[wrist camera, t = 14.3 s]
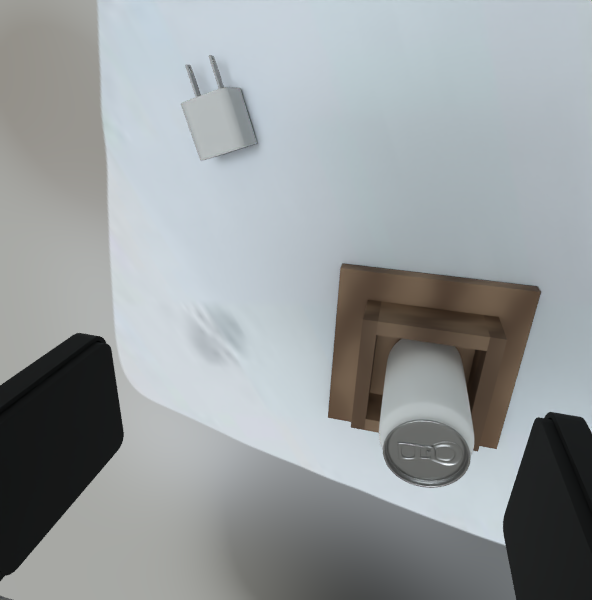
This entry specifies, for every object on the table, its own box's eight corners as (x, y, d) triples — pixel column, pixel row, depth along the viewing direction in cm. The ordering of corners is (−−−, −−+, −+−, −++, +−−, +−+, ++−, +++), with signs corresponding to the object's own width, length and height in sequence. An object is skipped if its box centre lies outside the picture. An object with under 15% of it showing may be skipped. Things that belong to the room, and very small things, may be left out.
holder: (537, 286, 37) (554, 313, 33) (494, 440, 44) (503, 480, 39) (342, 263, 40) (332, 285, 36) (330, 410, 47) (320, 444, 42)
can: (462, 393, 41) (477, 496, 31) (389, 392, 43) (379, 489, 32) (462, 329, 39) (478, 416, 28) (385, 330, 41) (372, 413, 30)
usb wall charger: (217, 156, 39) (197, 161, 36) (188, 70, 37) (164, 67, 34) (259, 142, 38) (243, 147, 35) (232, 53, 36) (211, 48, 32)
